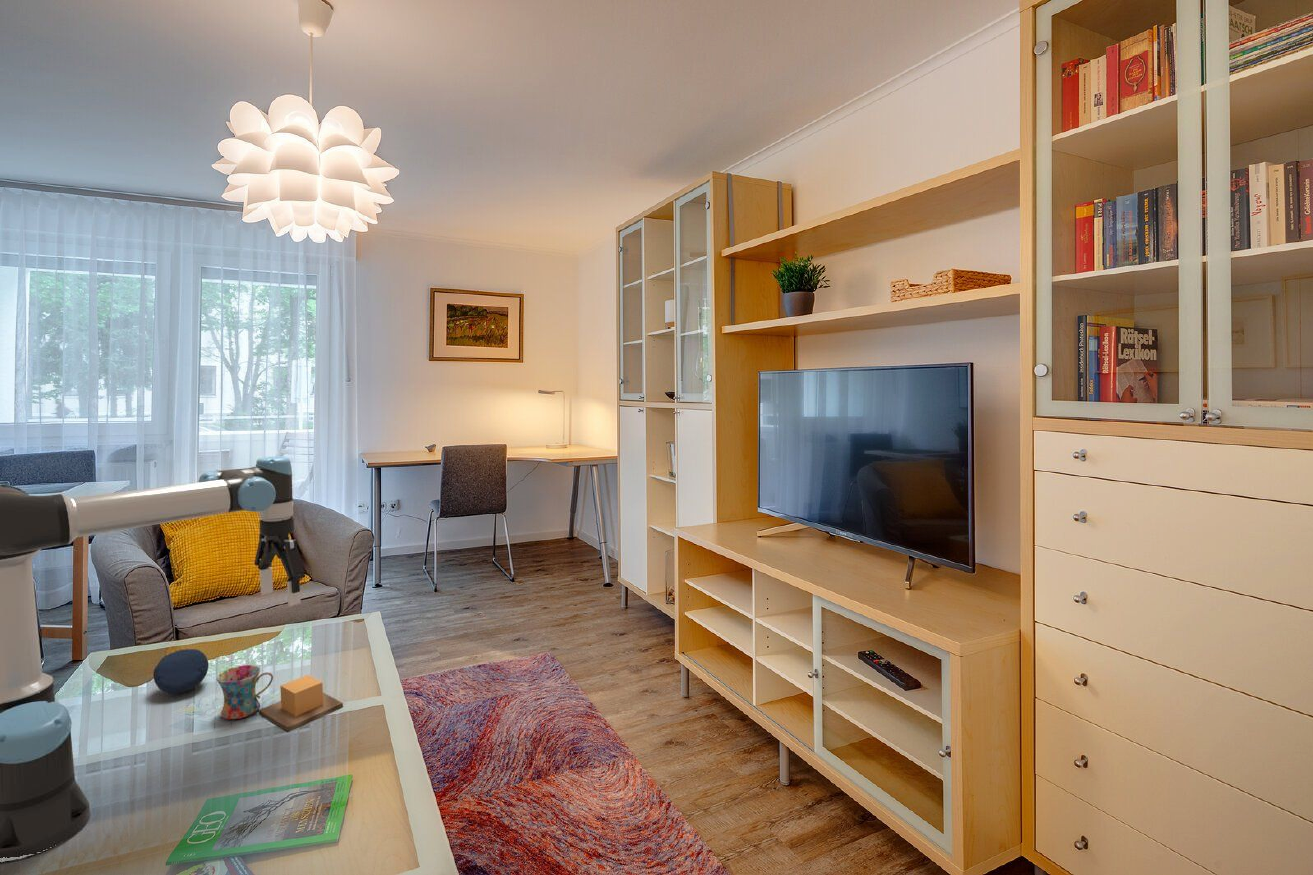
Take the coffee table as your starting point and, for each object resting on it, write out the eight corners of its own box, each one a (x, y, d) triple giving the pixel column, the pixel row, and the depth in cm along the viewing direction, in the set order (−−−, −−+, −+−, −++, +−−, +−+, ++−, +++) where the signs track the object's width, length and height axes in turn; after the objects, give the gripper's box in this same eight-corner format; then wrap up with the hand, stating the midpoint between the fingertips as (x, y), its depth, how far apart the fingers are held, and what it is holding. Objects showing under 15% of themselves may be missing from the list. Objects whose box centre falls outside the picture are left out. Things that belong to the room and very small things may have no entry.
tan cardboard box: (295, 716, 160) (294, 693, 159) (281, 707, 164) (280, 685, 163) (323, 704, 166) (322, 682, 165) (308, 696, 169) (307, 674, 169)
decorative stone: (153, 689, 174) (151, 654, 172) (206, 675, 181) (204, 642, 180) (156, 706, 165) (154, 669, 164) (212, 691, 173) (210, 656, 172)
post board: (287, 731, 155) (286, 709, 154) (259, 713, 162) (258, 692, 162) (342, 706, 167) (342, 686, 166) (313, 690, 174) (312, 671, 174)
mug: (217, 726, 156) (215, 685, 155) (219, 709, 164) (217, 669, 163) (274, 713, 163) (272, 673, 161) (274, 697, 170) (272, 659, 169)
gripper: (318, 522, 158) (321, 604, 160) (267, 508, 171) (271, 584, 174) (287, 528, 152) (290, 614, 154) (236, 513, 165) (241, 592, 167)
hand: (280, 598), depth 164 cm, fingers open, 13 cm apart
